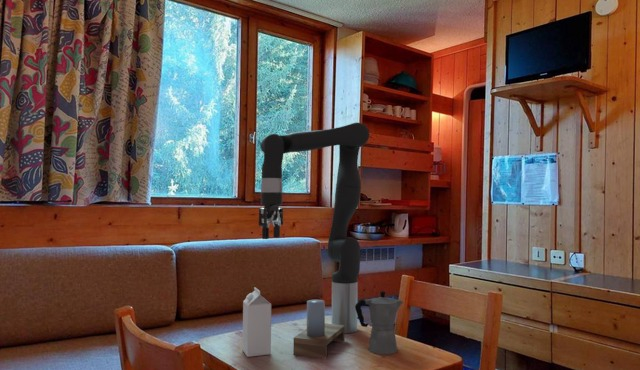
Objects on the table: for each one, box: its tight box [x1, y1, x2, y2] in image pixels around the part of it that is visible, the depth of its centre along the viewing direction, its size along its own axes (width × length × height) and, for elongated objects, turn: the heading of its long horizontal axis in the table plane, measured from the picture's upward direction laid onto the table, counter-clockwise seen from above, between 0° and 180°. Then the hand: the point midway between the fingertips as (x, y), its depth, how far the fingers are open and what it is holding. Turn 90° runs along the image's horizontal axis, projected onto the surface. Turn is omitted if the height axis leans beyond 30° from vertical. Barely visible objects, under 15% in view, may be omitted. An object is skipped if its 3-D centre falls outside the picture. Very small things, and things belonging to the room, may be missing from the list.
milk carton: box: [242, 287, 272, 358], centre depth 139 cm, size 7×7×19 cm
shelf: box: [292, 323, 346, 360], centre depth 144 cm, size 19×10×5 cm, turn 159°
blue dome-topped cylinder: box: [306, 299, 326, 337], centre depth 141 cm, size 6×6×10 cm
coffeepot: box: [355, 290, 404, 355], centre depth 142 cm, size 15×9×18 cm, turn 101°
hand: (271, 238), depth 159 cm, fingers open, 8 cm apart
